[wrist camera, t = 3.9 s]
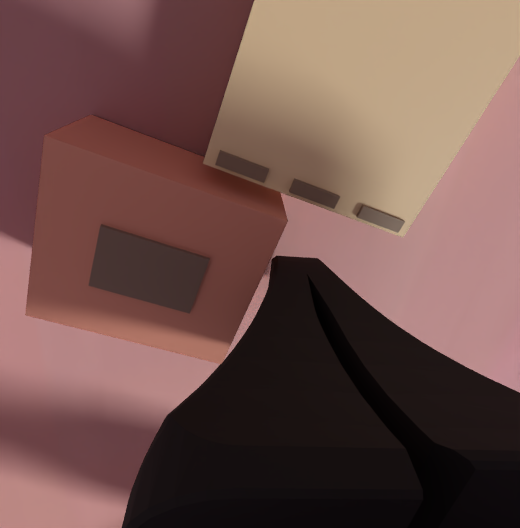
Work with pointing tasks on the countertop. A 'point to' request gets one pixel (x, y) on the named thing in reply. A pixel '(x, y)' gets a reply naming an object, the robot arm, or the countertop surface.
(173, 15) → the countertop surface
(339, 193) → the slotted cream box
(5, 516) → the countertop surface
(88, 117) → the pink block
